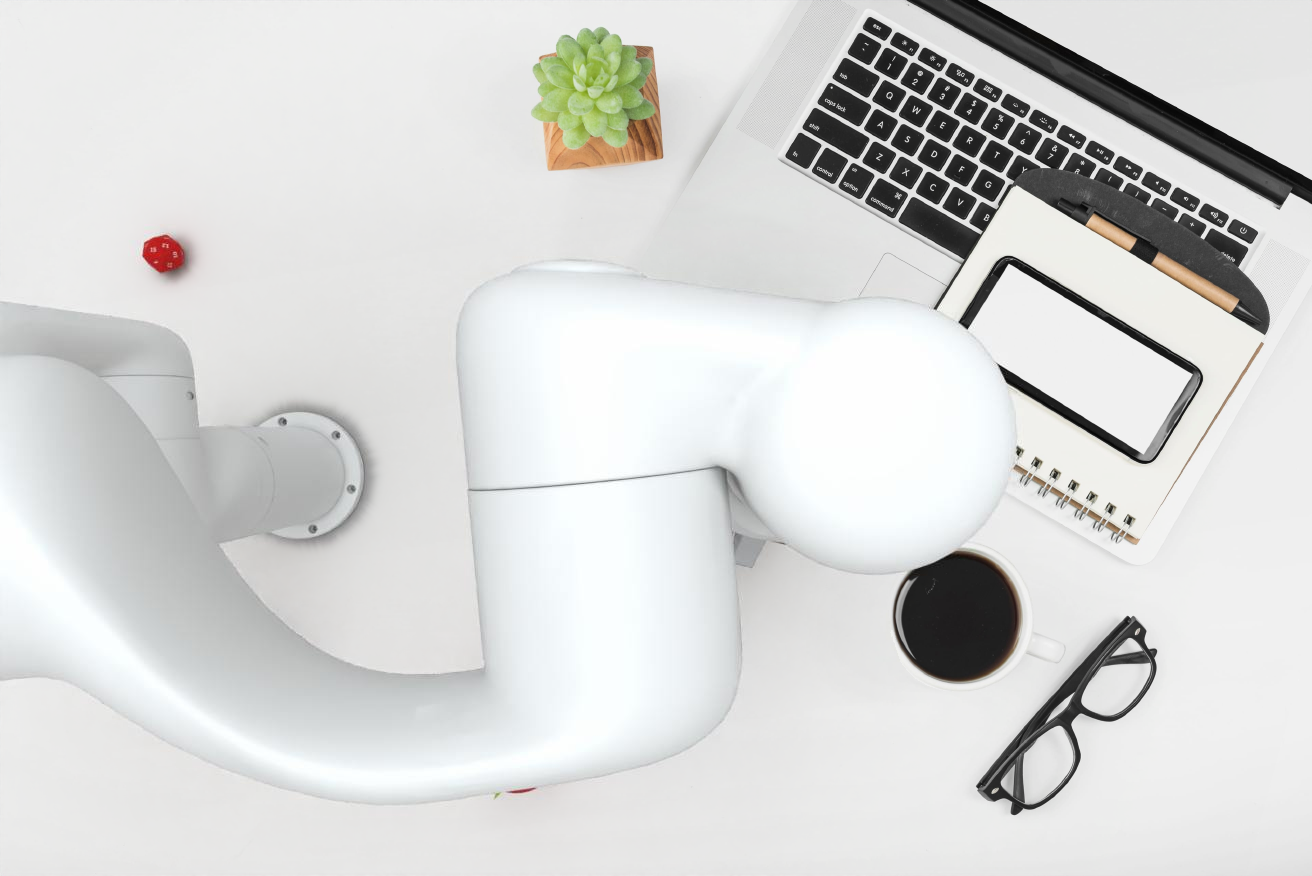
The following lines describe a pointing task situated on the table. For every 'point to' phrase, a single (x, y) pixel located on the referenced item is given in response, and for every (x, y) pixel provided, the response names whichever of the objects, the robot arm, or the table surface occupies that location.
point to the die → (163, 253)
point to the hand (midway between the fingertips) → (759, 434)
